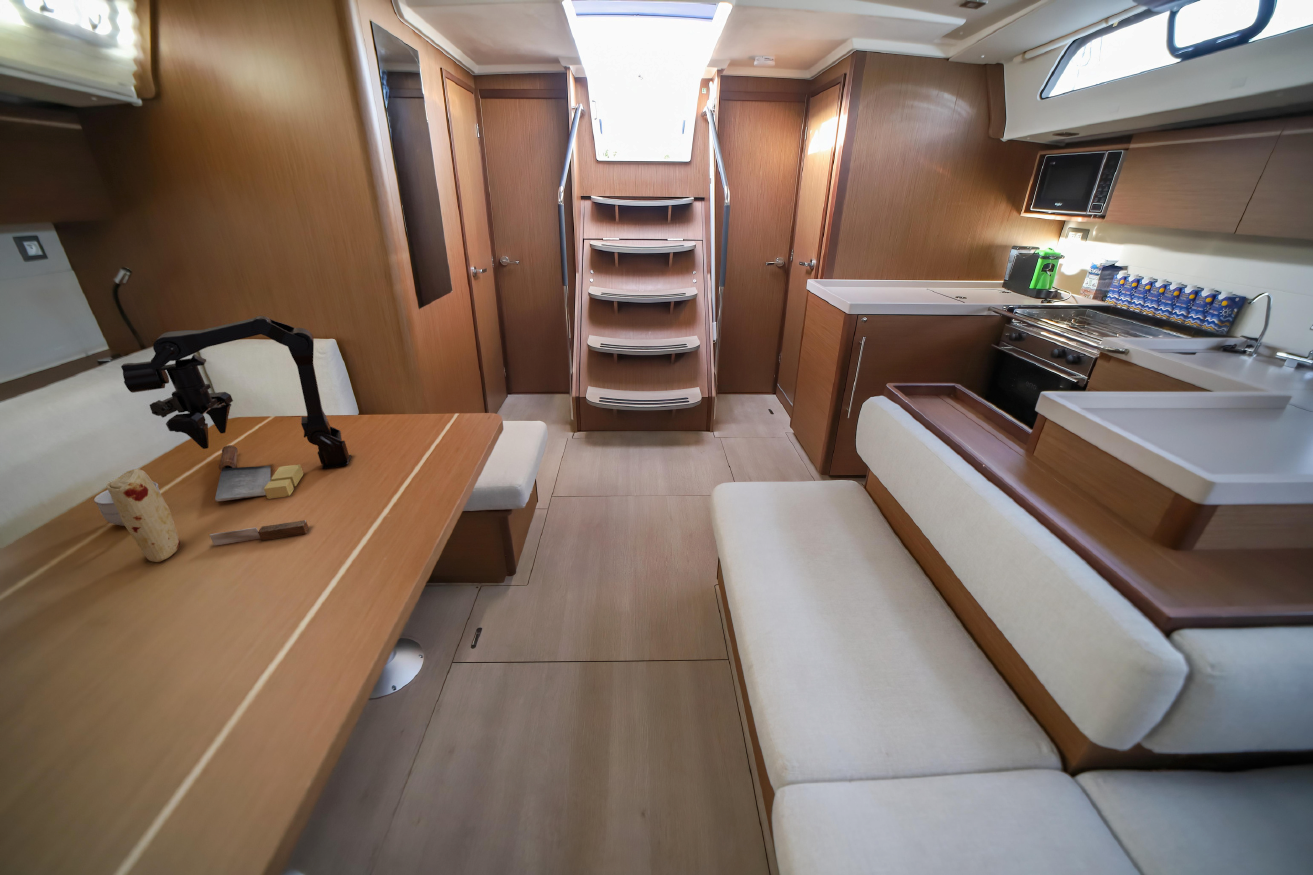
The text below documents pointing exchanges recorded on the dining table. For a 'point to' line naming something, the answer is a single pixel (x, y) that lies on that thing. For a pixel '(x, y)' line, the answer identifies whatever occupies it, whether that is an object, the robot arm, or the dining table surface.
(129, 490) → the food model
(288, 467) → the butter block
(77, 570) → the dining table surface
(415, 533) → the dining table surface
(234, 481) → the meat cleaver
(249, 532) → the knife
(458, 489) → the dining table surface
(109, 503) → the teacup
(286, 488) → the butter slice
